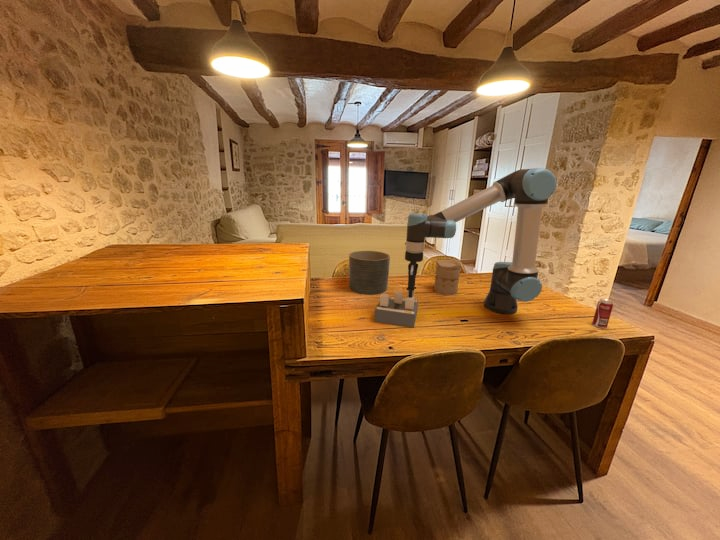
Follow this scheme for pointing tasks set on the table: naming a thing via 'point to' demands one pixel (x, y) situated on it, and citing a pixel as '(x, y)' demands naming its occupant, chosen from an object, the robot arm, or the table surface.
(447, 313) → the table surface
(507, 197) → the robot arm
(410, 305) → the slider right
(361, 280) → the planter
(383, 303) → the block
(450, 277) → the container
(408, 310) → the switch bank
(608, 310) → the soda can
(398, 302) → the slider mid
